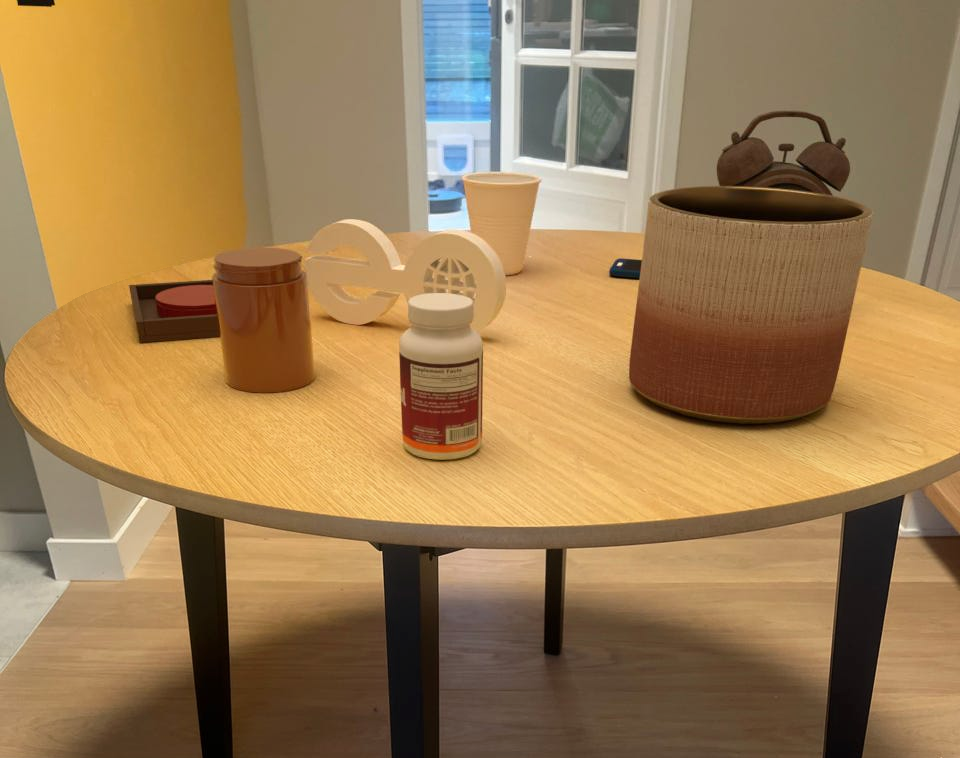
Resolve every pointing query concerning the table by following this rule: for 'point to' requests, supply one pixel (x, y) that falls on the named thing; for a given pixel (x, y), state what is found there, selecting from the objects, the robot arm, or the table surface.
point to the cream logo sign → (402, 272)
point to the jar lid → (186, 301)
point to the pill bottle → (441, 378)
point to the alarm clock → (756, 167)
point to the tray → (168, 328)
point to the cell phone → (626, 268)
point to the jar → (263, 319)
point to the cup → (502, 212)
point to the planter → (745, 300)
